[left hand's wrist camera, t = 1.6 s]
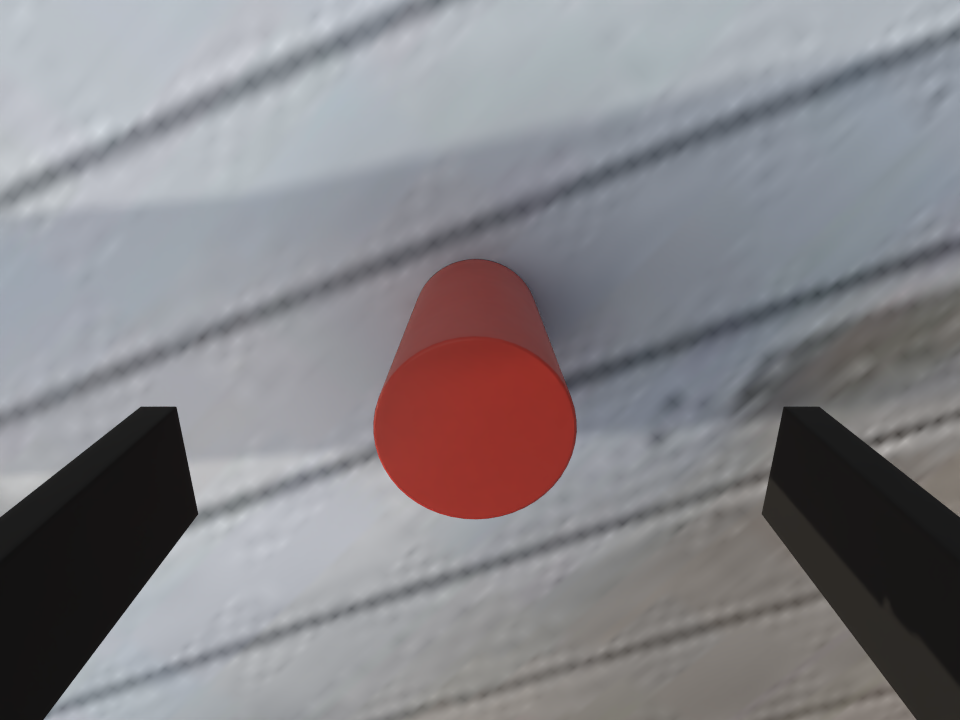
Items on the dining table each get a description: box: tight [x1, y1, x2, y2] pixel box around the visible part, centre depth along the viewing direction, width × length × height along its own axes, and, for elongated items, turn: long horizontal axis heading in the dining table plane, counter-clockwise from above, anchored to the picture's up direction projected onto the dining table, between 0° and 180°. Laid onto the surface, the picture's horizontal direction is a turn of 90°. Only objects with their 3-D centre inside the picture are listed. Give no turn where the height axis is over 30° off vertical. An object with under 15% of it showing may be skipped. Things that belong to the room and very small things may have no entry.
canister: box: [374, 259, 577, 519], centre depth 20 cm, size 5×5×11 cm
